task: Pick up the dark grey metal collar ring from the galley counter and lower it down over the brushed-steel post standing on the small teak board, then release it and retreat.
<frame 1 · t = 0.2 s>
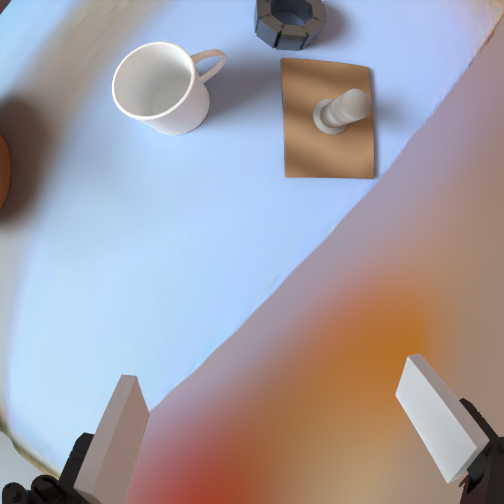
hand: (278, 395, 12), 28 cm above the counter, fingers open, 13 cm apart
mug: (188, 98, 33), on the counter
post block: (328, 118, 35), on the counter
ring: (285, 25, 31), on the counter
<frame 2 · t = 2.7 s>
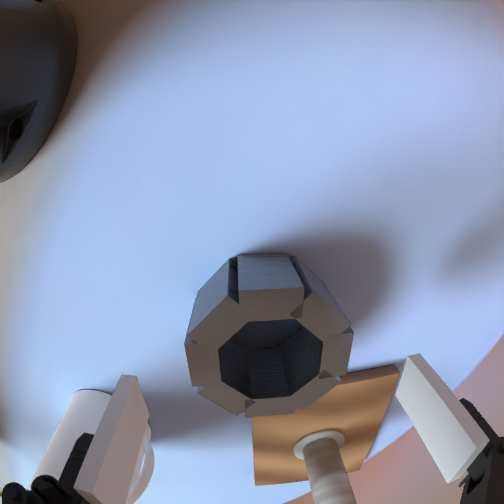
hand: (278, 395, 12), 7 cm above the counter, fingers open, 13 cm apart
mug: (121, 416, 22), on the counter
post block: (316, 435, 23), on the counter
ring: (262, 315, 19), on the counter
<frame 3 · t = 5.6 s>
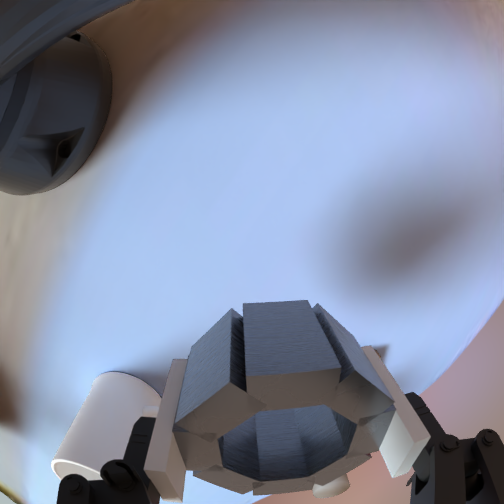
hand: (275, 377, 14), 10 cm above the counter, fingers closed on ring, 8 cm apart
mug: (139, 397, 26), on the counter
post block: (310, 415, 28), on the counter
ring: (274, 374, 14), point 10 cm above the counter, touching gripper
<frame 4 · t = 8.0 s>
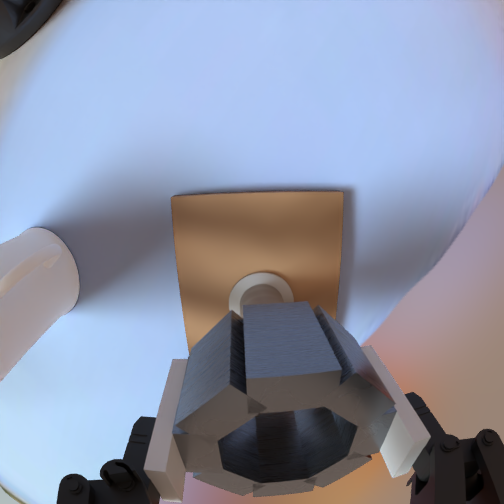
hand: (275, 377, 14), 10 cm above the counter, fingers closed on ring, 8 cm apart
mug: (54, 265, 22), on the counter
post block: (259, 294, 23), on the counter
ring: (274, 376, 14), point 9 cm above the counter, touching gripper
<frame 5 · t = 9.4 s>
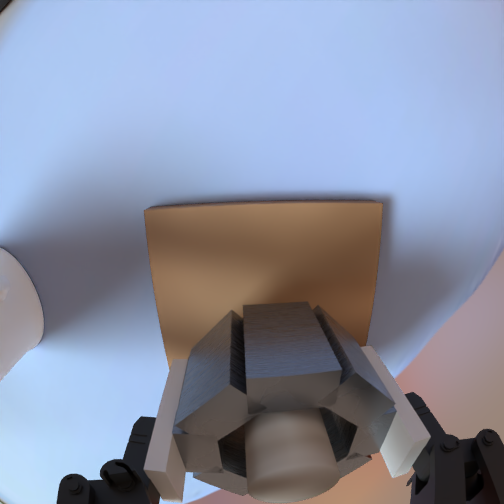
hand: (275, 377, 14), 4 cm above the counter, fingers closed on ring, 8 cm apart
mug: (15, 291, 16), on the counter
post block: (267, 336, 17), on the counter
ring: (274, 376, 14), point 3 cm above the counter, touching gripper
when the fingers open (2 cm above the counter, at t = 10.6 s): ring stays where it is, resting on post block.
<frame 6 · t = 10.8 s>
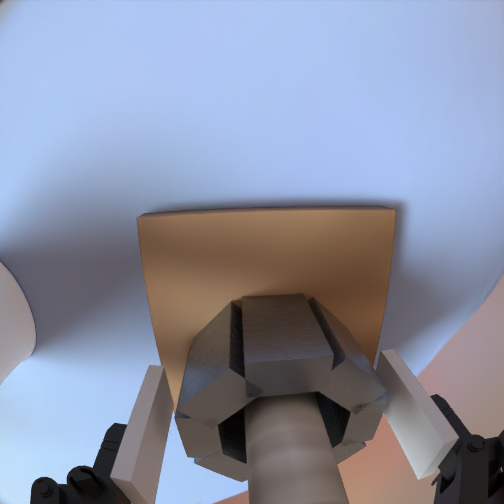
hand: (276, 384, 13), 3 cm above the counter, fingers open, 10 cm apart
mug: (6, 300, 15), on the counter
post block: (270, 351, 16), on the counter
ring: (272, 365, 15), point 1 cm above the counter, touching post block
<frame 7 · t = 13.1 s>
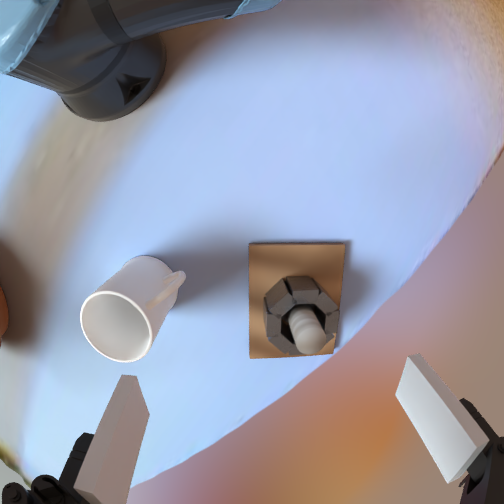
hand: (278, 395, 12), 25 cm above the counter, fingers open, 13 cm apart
mug: (157, 281, 37), on the counter
post block: (294, 302, 39), on the counter
ring: (295, 306, 37), point 1 cm above the counter, touching post block
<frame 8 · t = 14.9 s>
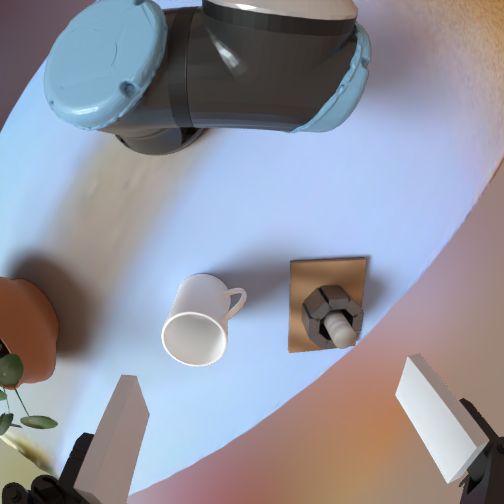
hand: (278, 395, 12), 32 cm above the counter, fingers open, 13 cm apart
mug: (212, 294, 45), on the counter
potted plant: (40, 321, 46), on the counter
post block: (325, 305, 47), on the counter
ring: (327, 309, 46), point 1 cm above the counter, touching post block
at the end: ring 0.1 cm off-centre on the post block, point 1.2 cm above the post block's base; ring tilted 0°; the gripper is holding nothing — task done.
